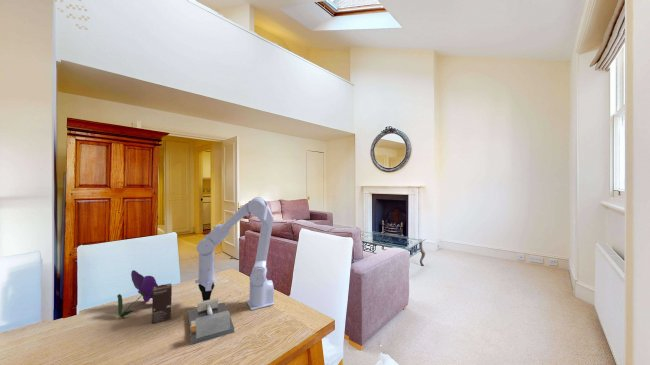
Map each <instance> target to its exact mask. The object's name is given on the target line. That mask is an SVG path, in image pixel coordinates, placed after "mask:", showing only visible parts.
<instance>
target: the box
mask: <svg viewBox="0 0 650 365" xmlns="http://www.w3.org/2000/svg"><path fill="white" fill-rule="evenodd" d="M172 288H173V286H172V283H165V284H160V285H159V284H158V286H154V287H153V289H152V298H151V299H152V301H151V302H152V303H151V304H152V305H151V306H152V307H151V310H152V311H151V312H152V313H151V316H152V317H151V323H152V324H155V323H160V322H164V321H168V320H171V319H172V294H173V292H172Z"/></svg>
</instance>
